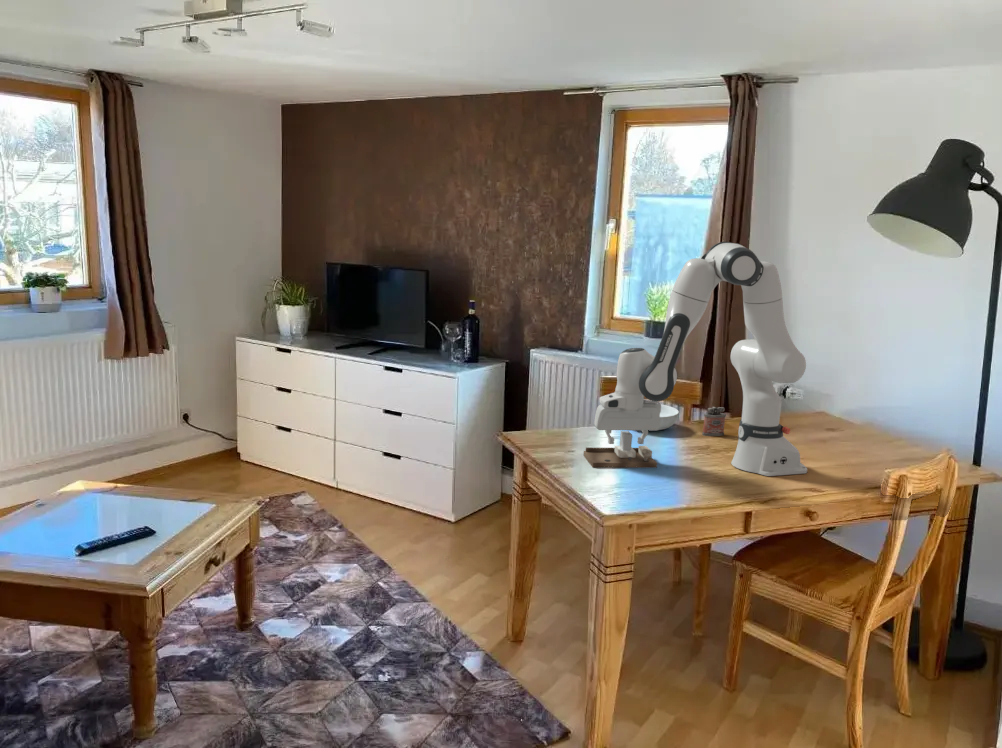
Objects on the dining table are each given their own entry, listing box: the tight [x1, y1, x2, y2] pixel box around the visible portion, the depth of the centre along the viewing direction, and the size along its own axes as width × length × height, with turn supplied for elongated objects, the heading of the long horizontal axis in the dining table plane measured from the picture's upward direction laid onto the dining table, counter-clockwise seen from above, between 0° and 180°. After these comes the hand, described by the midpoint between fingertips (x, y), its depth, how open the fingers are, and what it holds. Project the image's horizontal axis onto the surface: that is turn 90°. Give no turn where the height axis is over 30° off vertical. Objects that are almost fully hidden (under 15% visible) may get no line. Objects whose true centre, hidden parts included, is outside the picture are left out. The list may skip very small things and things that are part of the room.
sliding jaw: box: [614, 430, 636, 460], centre depth 247 cm, size 5×9×7 cm, turn 8°
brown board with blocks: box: [582, 445, 658, 469], centre depth 248 cm, size 20×12×4 cm, turn 98°
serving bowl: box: [648, 403, 680, 432], centre depth 289 cm, size 21×21×7 cm
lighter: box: [701, 406, 727, 437], centre depth 283 cm, size 8×3×10 cm, turn 104°
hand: (625, 443), depth 249 cm, fingers open, 8 cm apart
